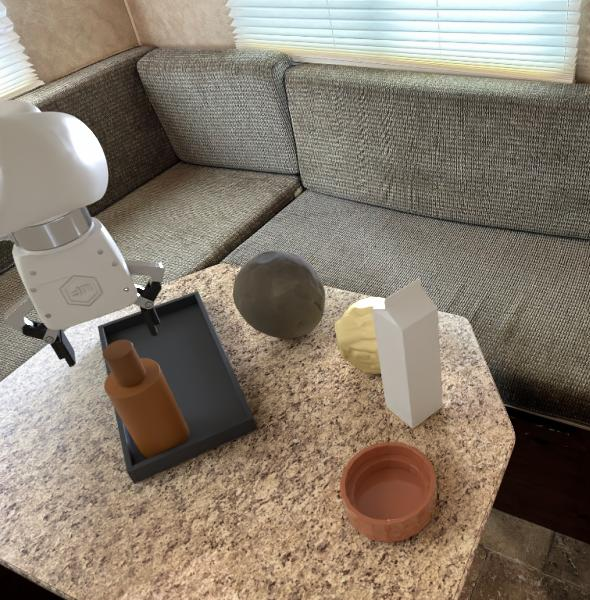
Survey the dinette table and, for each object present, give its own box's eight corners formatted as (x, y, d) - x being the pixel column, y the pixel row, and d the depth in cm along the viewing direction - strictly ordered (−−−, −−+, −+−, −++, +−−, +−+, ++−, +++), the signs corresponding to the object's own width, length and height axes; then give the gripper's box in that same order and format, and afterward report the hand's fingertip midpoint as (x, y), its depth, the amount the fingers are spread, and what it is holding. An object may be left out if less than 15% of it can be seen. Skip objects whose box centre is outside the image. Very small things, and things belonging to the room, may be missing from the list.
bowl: (369, 562, 71) (365, 542, 68) (331, 487, 79) (325, 466, 76) (454, 515, 74) (453, 494, 71) (409, 449, 83) (406, 428, 80)
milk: (443, 406, 88) (438, 288, 74) (412, 430, 85) (401, 311, 71) (415, 384, 92) (405, 267, 78) (384, 406, 89) (368, 289, 75)
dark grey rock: (309, 294, 111) (293, 224, 101) (345, 336, 101) (331, 263, 92) (236, 325, 106) (212, 255, 96) (267, 373, 96) (243, 300, 87)
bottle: (144, 468, 83) (91, 378, 71) (136, 433, 88) (85, 343, 76) (194, 446, 85) (151, 355, 74) (184, 413, 90) (141, 323, 79)
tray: (134, 484, 82) (126, 472, 80) (103, 336, 106) (97, 325, 105) (258, 429, 87) (254, 417, 86) (202, 301, 112) (197, 290, 110)
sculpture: (340, 387, 92) (328, 335, 85) (344, 334, 102) (334, 283, 95) (414, 382, 92) (409, 330, 85) (412, 329, 101) (407, 278, 94)
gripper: (-43, 268, 58) (39, 391, 69) (141, 213, 63) (190, 335, 74) (-39, 234, 63) (37, 353, 74) (130, 186, 69) (178, 303, 79)
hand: (113, 344), depth 74 cm, fingers open, 9 cm apart
